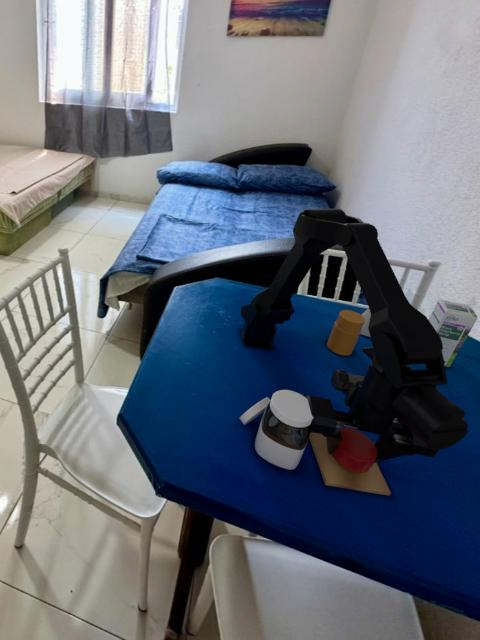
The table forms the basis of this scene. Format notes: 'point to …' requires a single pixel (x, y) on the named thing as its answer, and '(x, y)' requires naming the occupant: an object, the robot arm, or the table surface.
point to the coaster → (346, 471)
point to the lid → (355, 451)
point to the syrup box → (452, 326)
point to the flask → (366, 323)
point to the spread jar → (281, 428)
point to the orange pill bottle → (345, 332)
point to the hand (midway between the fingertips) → (349, 456)
